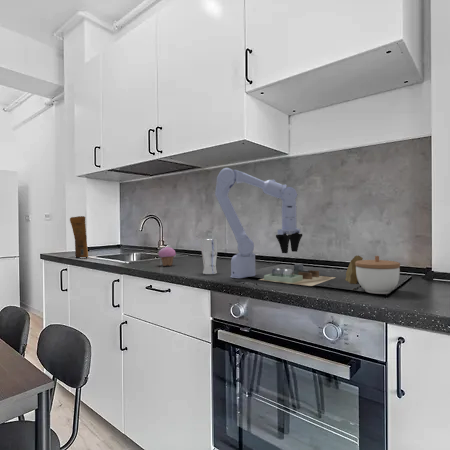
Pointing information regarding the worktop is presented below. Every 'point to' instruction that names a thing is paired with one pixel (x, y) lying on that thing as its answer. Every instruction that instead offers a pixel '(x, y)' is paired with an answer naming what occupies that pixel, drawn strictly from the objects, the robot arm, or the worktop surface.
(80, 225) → the pancake mix bag
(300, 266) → the grey stepped block
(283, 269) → the grey cylinder
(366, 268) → the lidded bowl
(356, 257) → the rock
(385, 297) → the worktop surface
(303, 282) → the board
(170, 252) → the cupcake
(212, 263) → the beer glass
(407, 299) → the worktop surface
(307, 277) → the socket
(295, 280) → the tray
